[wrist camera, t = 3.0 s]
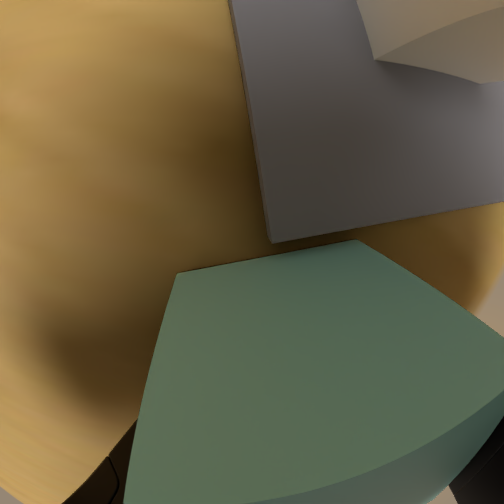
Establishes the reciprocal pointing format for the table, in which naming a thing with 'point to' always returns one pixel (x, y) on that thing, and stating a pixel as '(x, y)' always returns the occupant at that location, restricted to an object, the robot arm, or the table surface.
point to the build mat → (357, 124)
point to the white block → (439, 35)
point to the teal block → (313, 385)
